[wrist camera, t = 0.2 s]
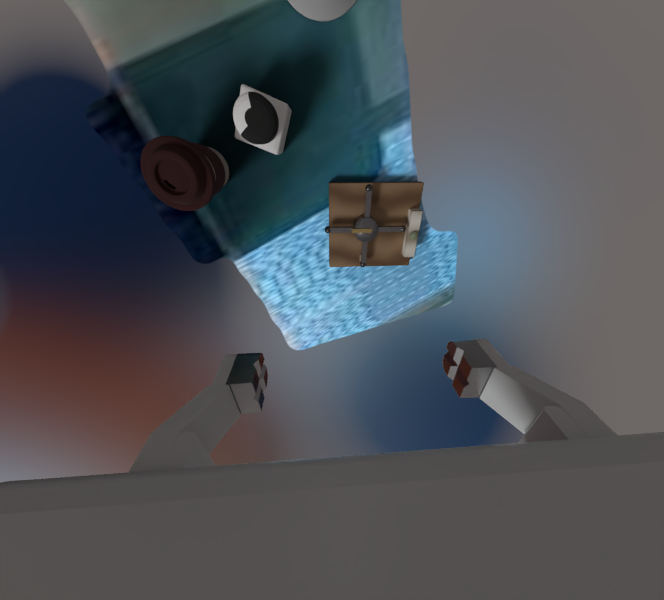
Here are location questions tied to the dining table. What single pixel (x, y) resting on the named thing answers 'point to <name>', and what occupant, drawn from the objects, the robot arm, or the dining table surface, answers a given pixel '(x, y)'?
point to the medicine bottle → (261, 120)
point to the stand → (387, 210)
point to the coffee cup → (183, 172)
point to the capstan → (365, 227)
